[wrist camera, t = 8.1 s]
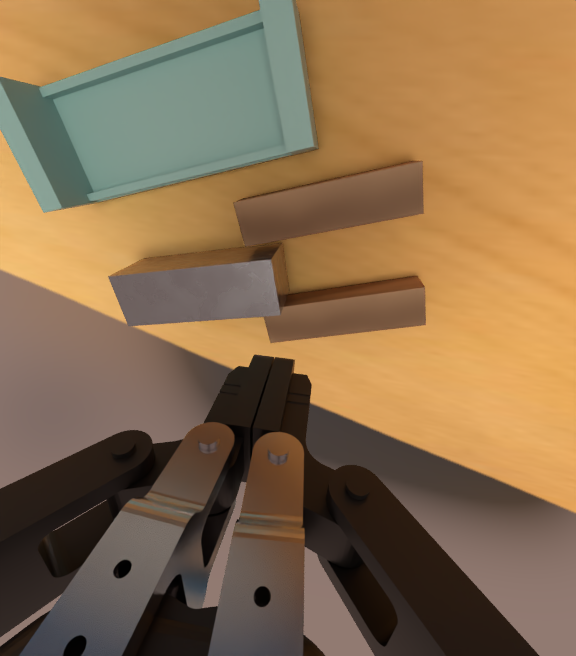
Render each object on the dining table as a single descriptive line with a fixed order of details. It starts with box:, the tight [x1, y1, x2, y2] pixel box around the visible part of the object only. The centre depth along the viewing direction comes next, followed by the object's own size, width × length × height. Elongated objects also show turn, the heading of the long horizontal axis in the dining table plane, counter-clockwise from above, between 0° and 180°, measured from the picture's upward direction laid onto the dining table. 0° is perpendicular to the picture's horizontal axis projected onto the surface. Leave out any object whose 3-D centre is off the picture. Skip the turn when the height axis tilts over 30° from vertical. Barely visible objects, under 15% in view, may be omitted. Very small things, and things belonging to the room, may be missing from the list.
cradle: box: [0, 0, 319, 213], centre depth 20 cm, size 7×18×5 cm, turn 102°
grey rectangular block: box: [108, 243, 289, 326], centre depth 25 cm, size 4×12×5 cm, turn 98°
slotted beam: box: [234, 161, 426, 343], centre depth 24 cm, size 11×12×2 cm
